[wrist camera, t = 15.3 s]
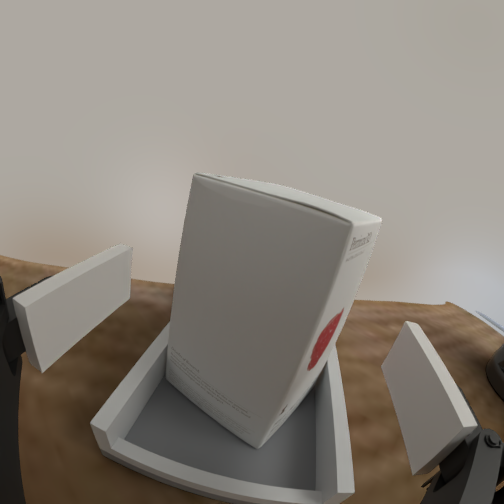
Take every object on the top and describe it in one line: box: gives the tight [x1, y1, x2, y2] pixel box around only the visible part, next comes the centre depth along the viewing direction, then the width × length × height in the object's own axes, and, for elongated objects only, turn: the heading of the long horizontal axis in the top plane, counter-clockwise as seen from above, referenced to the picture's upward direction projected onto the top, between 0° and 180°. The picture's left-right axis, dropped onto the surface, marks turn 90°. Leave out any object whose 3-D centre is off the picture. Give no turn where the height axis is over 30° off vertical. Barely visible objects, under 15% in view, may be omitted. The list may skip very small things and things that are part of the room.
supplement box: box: [165, 173, 382, 449], centre depth 17 cm, size 9×9×15 cm
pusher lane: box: [90, 322, 355, 504], centre depth 20 cm, size 22×14×7 cm, turn 171°
